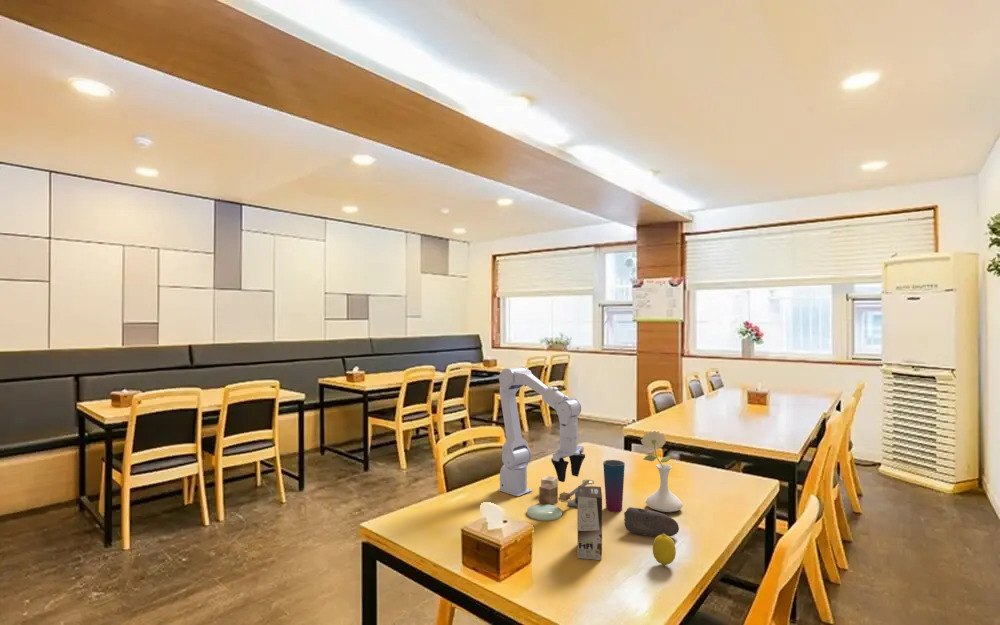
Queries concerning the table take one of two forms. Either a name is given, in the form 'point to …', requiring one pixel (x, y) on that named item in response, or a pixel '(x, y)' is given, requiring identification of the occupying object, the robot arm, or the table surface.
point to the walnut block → (548, 494)
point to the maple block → (549, 480)
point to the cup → (614, 484)
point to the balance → (566, 496)
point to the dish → (544, 512)
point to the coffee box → (589, 522)
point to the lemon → (664, 549)
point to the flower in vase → (663, 496)
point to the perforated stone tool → (649, 522)
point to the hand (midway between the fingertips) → (568, 478)
